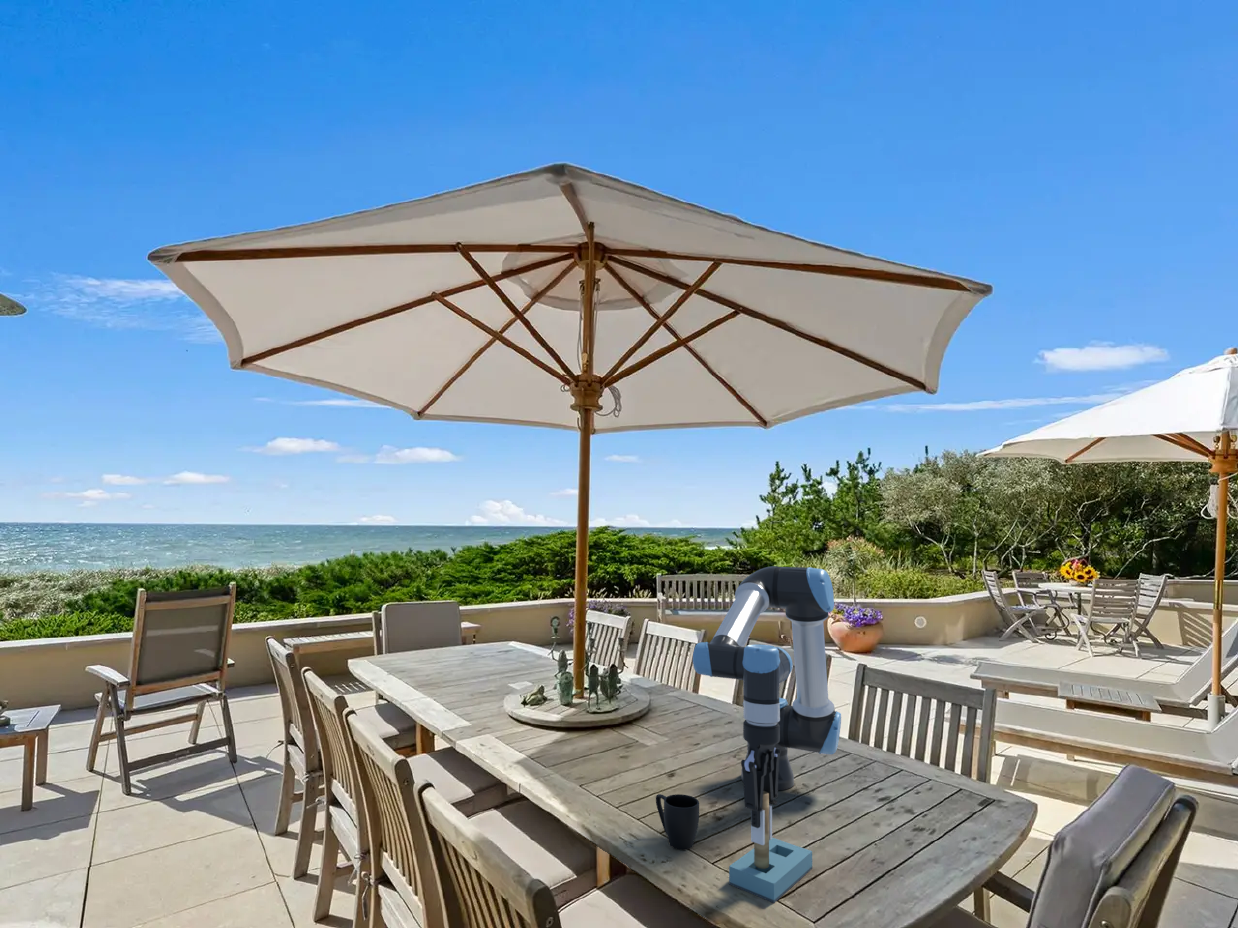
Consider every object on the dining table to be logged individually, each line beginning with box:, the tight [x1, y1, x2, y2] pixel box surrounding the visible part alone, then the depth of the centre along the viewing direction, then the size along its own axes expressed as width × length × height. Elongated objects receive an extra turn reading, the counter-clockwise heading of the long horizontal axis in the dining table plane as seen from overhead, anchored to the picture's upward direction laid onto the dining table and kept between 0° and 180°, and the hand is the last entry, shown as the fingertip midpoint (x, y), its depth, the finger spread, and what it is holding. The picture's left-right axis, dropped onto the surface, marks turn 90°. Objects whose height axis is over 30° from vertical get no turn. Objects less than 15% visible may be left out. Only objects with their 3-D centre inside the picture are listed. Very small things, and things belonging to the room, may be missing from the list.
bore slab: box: [728, 837, 813, 904], centre depth 134 cm, size 18×10×4 cm, turn 140°
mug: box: [655, 793, 700, 851], centre depth 149 cm, size 8×12×10 cm
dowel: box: [753, 791, 769, 869], centre depth 132 cm, size 3×3×14 cm
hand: (761, 839), depth 131 cm, fingers closed on dowel, 2 cm apart
